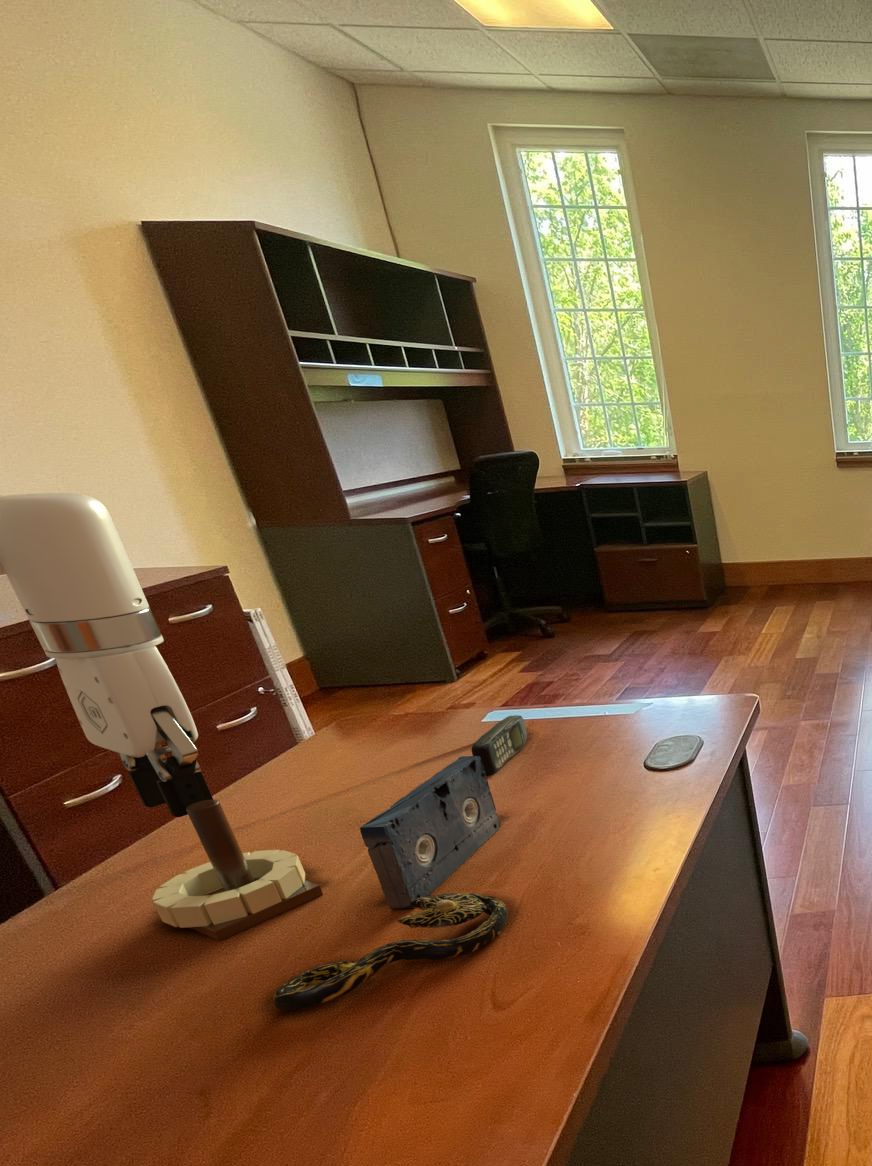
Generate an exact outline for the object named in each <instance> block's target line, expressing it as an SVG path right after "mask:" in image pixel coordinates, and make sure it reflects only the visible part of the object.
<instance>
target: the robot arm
mask: <svg viewBox="0 0 872 1166" xmlns="http://www.w3.org/2000/svg"><path fill="white" fill-rule="evenodd" d="M130 560H131V559H130V557H129V556H128V553H127V550H126V549H125V546H124V544H123V542H122V540H121V537H120V534H119V532H118V530H117V528H116V525H115V524H114V521H113V519H112V517H111V514H110V512H109V510H108V508H107V507H106V506H105V505H104V504H103V503H102V502H101V501H100V500H98V499H97V498H95V497H93V496H90V495H87V494H82V493H74V492H73V493H71V492H46V493H45V492H44V493H43V492H41V493H19V494H7V495H0V576H4V575H5V576H6V577H7V579H8V581H9V583H10V585H11V587H12V589H13V591H14V593H15V595H16V598H17V599H18V601H19V604H20V605H21V607H22V609H23V611H24V614H25V616H26V617H27V619H28V620H29V623H30V625H31V627H32V629H33V631H34V633H35V635H36V637H37V639H38V641H39V643H40V646H41V648H42V649H43V651H44V653H45V655H46V657H47V658H51V659H55V663H56V665H57V669H58V672H59V675H60V679H61V680H62V684H63V686H64V688H65V691H66V693H67V696H68V697H69V700H70V703H71V705H72V708H73V710H74V712H75V715H76V717H77V720H78V722H79V725H80V726H81V729H82V731H83V733H84V736H85V737H86V739H87V741H89V743H91V744H93V745H94V746H97V747H100V748H103V749H106V750H108V751H112V752H114V753H118V754H119V757H120V759H121V762H122V765H123V767H124V769H126V770H127V771H128V772H127V774H128V776H129V778H130V780H131V782H132V784H133V786H134V788H135V790H136V792H137V794H138V797H139V799H140V801H141V803H142V805H143V806H144V807H146V808H155V807H158V806H161V805H165V804H166V806H167V809H168V811H169V813H170V815H171V816H173V817H175V818H181V817H184V816H189V815H188V813H187V811H186V807H188V806H189V805H191V804H194V803H196V802H200V801H204V800H214V797H213V796H212V793H211V791H210V789H209V786H208V784H207V781H206V779H205V777H204V775H203V772H202V768H201V765H200V764H199V762H198V756H199V750H198V748H197V746H196V745H195V744H194V743H195V742H196V741H197V739H198V737H199V732H198V730H197V726H196V724H195V721H194V718H193V716H192V713H191V711H190V708H189V707H188V705H187V703H186V700H185V698H184V696H183V694H182V692H181V690H180V688H179V685H178V683H177V682H176V680H175V678H174V676H173V674H172V672H171V670H170V669H169V666H168V665H167V663H166V661H165V660H164V658H163V656H162V655H161V653H160V651H159V649H158V647H157V646H158V645H160V644H162V643H164V641H165V639H164V637H163V635H162V633H161V631H160V627H159V626H158V624H157V621H156V619H155V616H154V614H153V611H152V610H151V607H150V604H149V602H148V600H147V597H146V596H145V593H144V591H143V589H142V586H141V584H140V582H139V579H138V577H137V574H136V572H135V569H134V568H133V565H132V563H131V561H130ZM162 742H165V743H166V744H167V745H166V746H163V745H162ZM170 753H171V756H168V757H166V754H170Z"/></svg>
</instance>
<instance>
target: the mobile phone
mask: <svg viewBox="0 0 872 1166" xmlns="http://www.w3.org/2000/svg"><path fill="white" fill-rule="evenodd" d="M527 740H528V732H527V727H526V723H525V719H524V718H523V716H522V715H519V714H518V715H517V714H516V715H515V714H514V715H508V716H506V717H505V718H503V719H502V720H500V721H498V722H497V723H496V724H495V725H493V726H492V727H491V728H490V729H489V730H488V731H487V732H485V733H484V734H482V735H481V736H480V737H479V738H478V739H477V740H476V741H474V743H473V744H472V746H471V756H480V758H481V760H480V761H481V762H482V764H483V766H484V770H485V774H486V775H494V774H496V773H497V771H499V770H500V769H501V768H502V767H503V766H504V765H505V764H506V763H507V762H508V761H509V760H510V759H511V758H512V757H514V756H515V755H517V754H518V753H519V752H520V751H522V749H523V748H524V747H525V745H526V741H527ZM500 767H501V768H500Z"/></svg>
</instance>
